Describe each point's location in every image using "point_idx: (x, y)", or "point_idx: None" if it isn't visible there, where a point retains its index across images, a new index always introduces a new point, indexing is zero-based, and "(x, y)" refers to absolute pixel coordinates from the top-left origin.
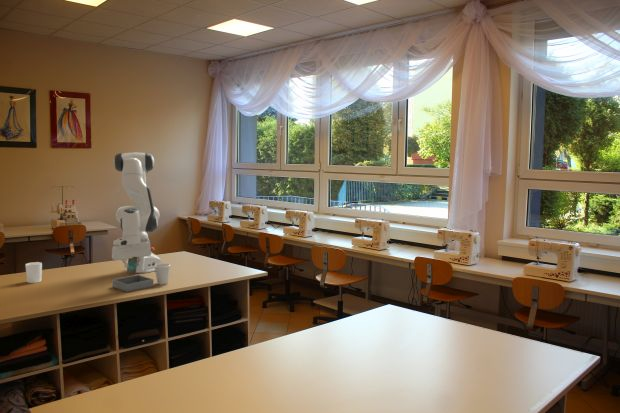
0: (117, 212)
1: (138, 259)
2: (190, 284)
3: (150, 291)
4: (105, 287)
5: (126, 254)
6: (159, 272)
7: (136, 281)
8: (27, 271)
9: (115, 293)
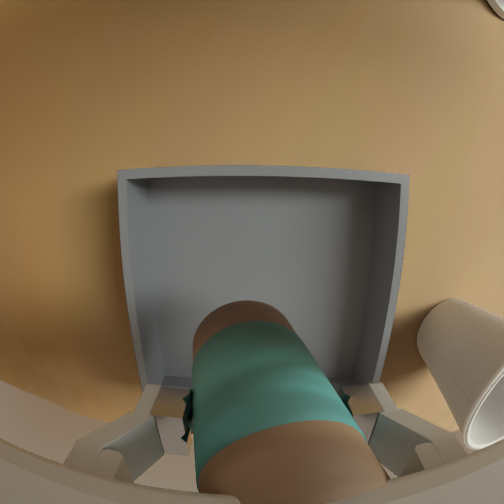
0: None
1: (412, 442)
2: None
3: None
4: (106, 140)
5: None
6: (449, 406)
7: (358, 181)
8: None
9: (102, 347)
